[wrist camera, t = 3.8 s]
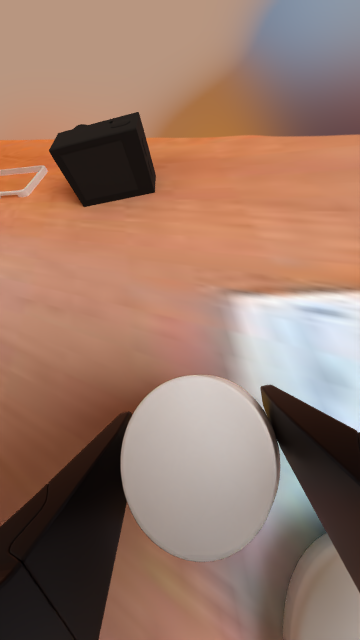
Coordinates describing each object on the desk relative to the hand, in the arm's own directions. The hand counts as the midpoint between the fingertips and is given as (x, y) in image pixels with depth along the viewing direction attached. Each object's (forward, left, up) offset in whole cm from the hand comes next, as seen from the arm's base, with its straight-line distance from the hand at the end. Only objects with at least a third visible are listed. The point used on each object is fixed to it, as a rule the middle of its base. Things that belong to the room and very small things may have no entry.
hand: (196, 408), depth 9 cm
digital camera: (+30, -11, -7) cm, 32 cm away
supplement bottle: (-1, +1, -7) cm, 7 cm away
